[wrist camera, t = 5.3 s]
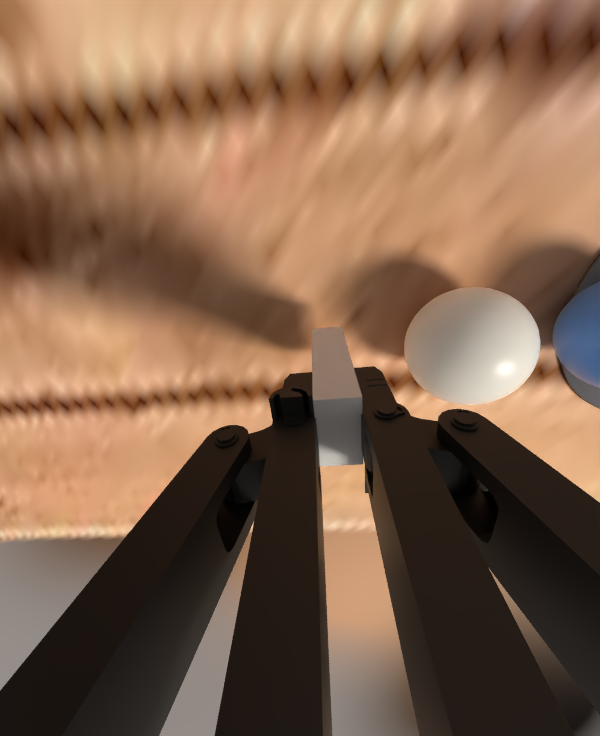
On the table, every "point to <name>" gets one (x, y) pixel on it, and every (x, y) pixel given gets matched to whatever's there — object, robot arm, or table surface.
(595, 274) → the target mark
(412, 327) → the white ball
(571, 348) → the blue ball
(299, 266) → the table surface
